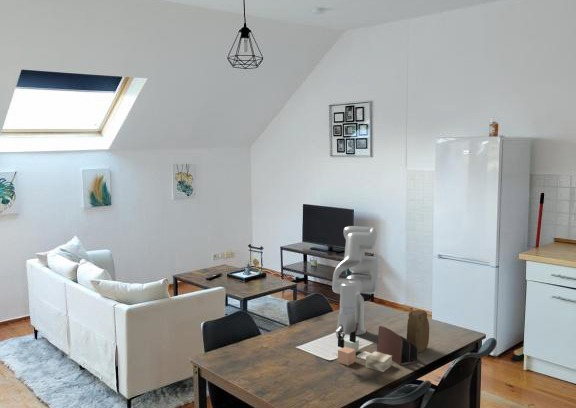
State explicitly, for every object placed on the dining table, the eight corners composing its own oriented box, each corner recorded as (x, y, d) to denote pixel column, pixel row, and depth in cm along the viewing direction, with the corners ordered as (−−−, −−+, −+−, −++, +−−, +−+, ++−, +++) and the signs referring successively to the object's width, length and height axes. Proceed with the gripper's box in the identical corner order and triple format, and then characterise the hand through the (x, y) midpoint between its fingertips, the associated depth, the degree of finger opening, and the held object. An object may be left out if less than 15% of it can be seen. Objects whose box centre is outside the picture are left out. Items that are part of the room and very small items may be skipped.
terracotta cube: (337, 362, 255) (337, 350, 254) (344, 358, 260) (345, 346, 259) (348, 365, 251) (348, 353, 251) (355, 361, 256) (355, 349, 255)
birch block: (365, 367, 250) (365, 357, 249) (374, 361, 257) (374, 351, 257) (383, 372, 245) (383, 362, 244) (391, 366, 252) (392, 355, 251)
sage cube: (341, 351, 268) (342, 339, 267) (348, 348, 273) (348, 336, 272) (351, 354, 264) (352, 343, 263) (358, 351, 269) (358, 339, 268)
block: (415, 354, 266) (417, 315, 263) (404, 349, 272) (406, 310, 269) (430, 349, 272) (432, 311, 269) (419, 344, 278) (420, 307, 276)
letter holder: (400, 366, 252) (401, 337, 250) (376, 350, 270) (377, 323, 268) (417, 362, 256) (418, 334, 254) (393, 348, 274) (394, 321, 272)
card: (355, 356, 262) (355, 355, 261) (364, 352, 268) (364, 351, 267) (369, 361, 256) (369, 360, 256) (378, 356, 262) (378, 355, 262)
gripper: (351, 303, 261) (350, 338, 263) (330, 311, 248) (329, 347, 250) (364, 306, 256) (363, 341, 258) (343, 314, 243) (342, 351, 245)
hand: (346, 344), depth 254 cm, fingers open, 9 cm apart
